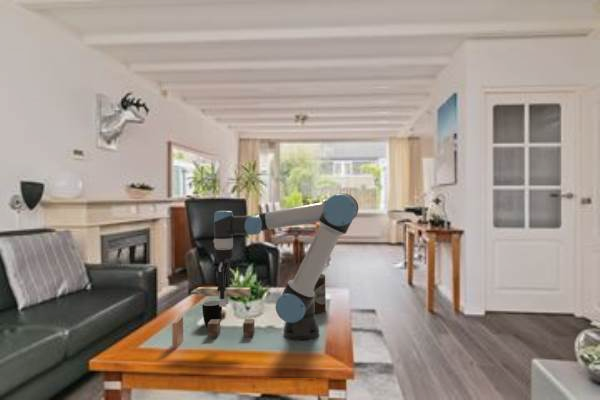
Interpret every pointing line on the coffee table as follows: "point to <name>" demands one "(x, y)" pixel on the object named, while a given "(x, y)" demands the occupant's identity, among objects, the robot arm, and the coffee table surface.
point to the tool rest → (215, 328)
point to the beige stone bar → (229, 291)
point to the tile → (177, 332)
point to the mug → (211, 311)
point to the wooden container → (320, 295)
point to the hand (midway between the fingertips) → (223, 305)
